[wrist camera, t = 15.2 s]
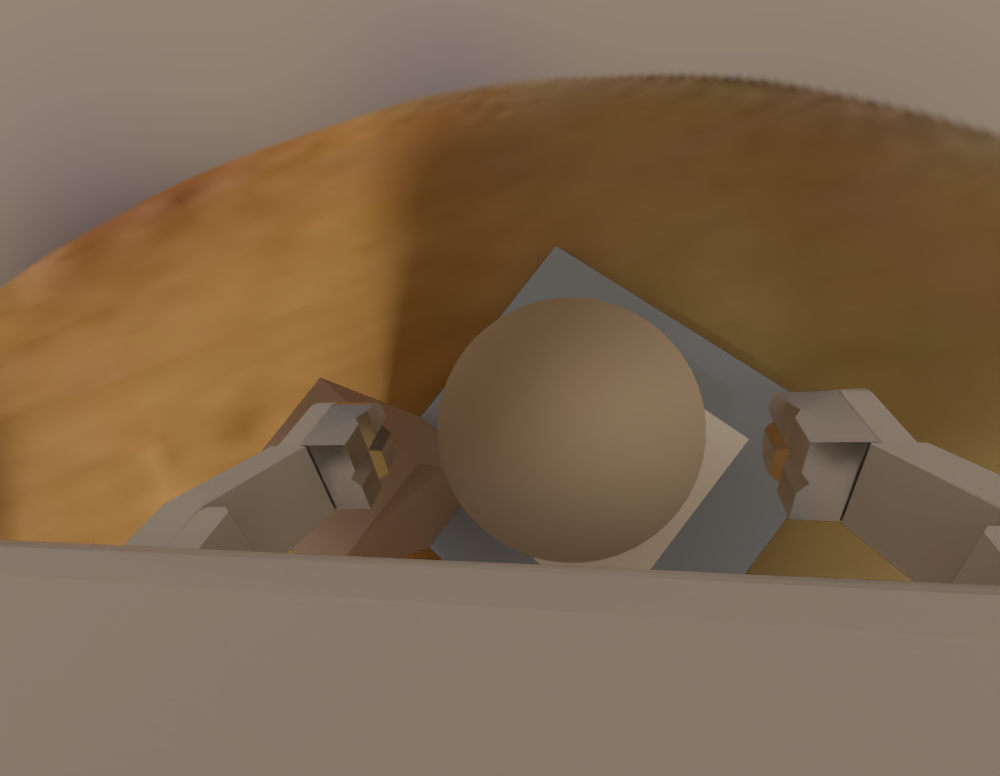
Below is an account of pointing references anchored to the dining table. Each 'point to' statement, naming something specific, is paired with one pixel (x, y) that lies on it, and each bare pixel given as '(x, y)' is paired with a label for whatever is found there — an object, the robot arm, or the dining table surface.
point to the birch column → (571, 430)
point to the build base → (722, 397)
